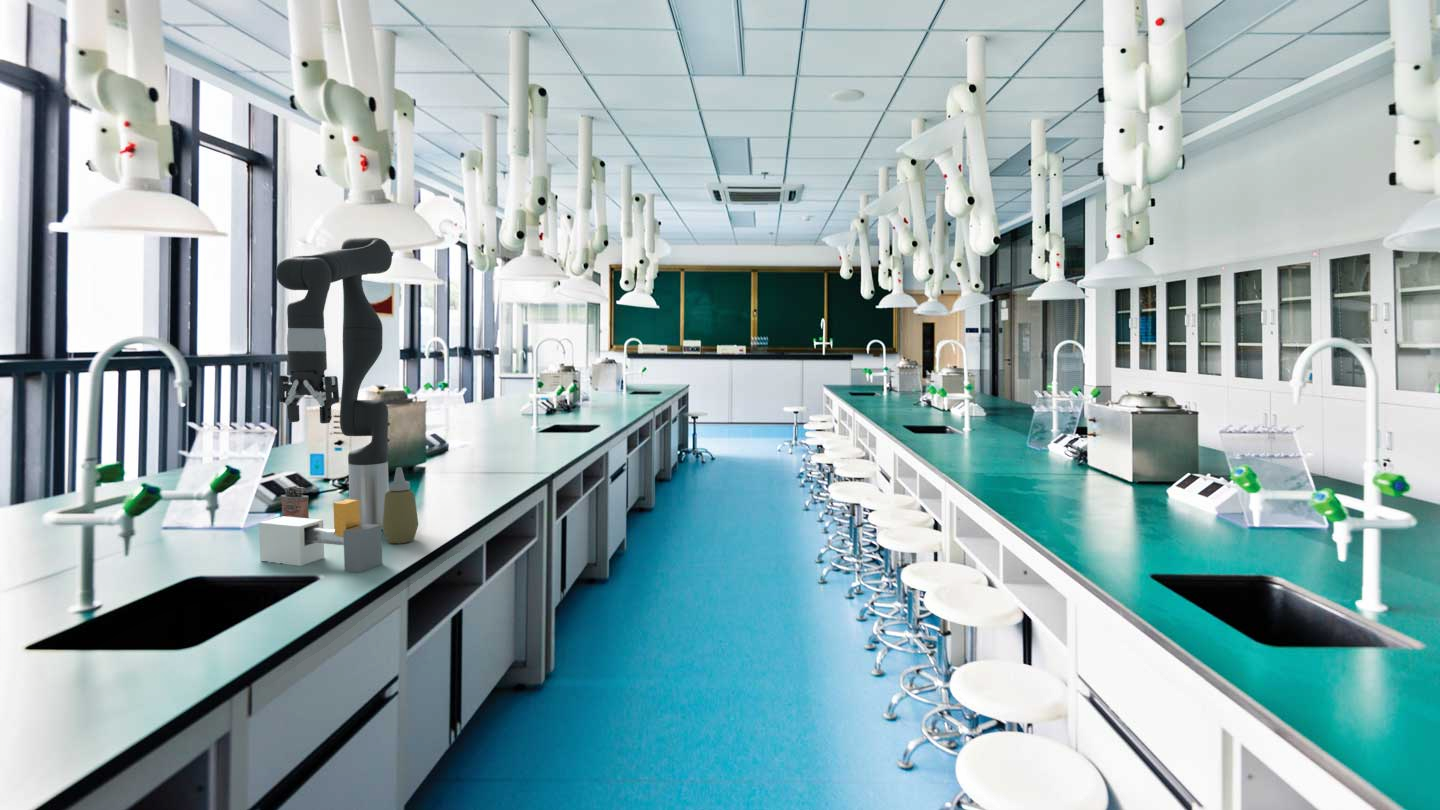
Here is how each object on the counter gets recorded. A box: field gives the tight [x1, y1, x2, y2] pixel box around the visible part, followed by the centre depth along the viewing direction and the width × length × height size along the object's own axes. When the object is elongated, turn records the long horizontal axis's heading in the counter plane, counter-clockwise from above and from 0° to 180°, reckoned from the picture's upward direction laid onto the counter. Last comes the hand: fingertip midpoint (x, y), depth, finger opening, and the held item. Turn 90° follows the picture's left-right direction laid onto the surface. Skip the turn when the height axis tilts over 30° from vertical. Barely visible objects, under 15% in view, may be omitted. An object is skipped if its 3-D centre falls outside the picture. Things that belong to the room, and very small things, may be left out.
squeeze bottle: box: [382, 466, 419, 545], centre depth 178 cm, size 8×8×18 cm
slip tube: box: [304, 498, 360, 546], centre depth 159 cm, size 18×4×10 cm, turn 74°
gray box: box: [343, 524, 383, 573], centre depth 157 cm, size 4×6×9 cm, turn 164°
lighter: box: [280, 485, 310, 519], centre depth 194 cm, size 8×3×10 cm, turn 73°
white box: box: [258, 516, 325, 567], centre depth 162 cm, size 11×6×9 cm, turn 74°
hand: (309, 422), depth 163 cm, fingers open, 8 cm apart
